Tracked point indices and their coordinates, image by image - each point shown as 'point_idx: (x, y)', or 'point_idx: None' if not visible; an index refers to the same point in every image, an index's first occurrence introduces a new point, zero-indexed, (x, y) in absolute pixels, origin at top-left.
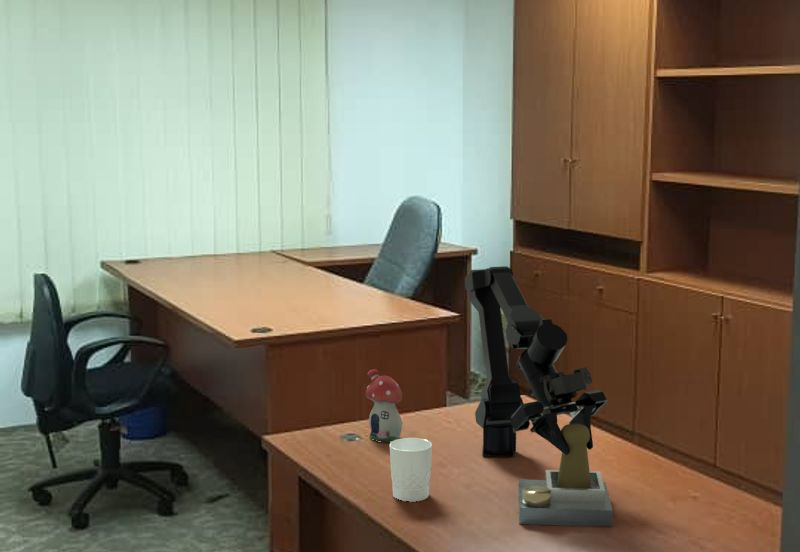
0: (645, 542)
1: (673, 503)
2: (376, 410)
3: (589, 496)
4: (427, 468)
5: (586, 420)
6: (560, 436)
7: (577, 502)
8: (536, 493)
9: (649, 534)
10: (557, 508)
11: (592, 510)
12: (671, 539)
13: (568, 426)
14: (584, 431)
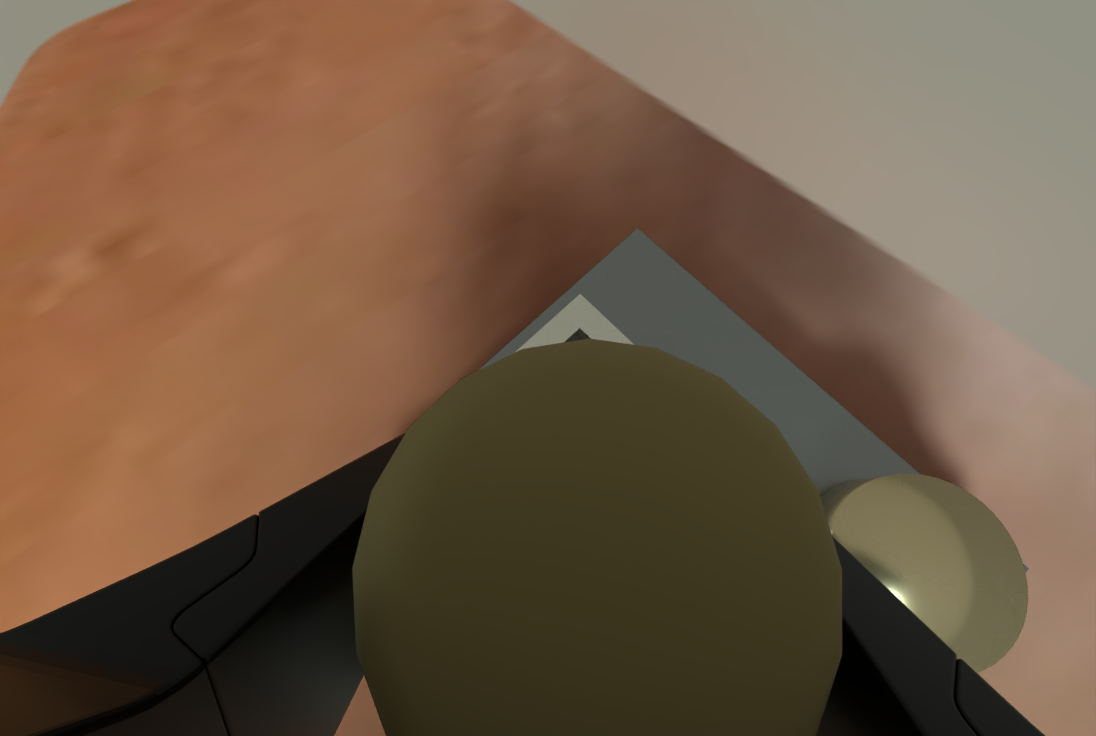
0: (643, 116)
1: (233, 261)
2: None
3: None
4: None
5: (160, 632)
6: (900, 628)
7: None
8: (955, 537)
9: (574, 146)
10: (846, 413)
11: (709, 291)
12: (551, 81)
13: (735, 666)
14: (605, 346)
